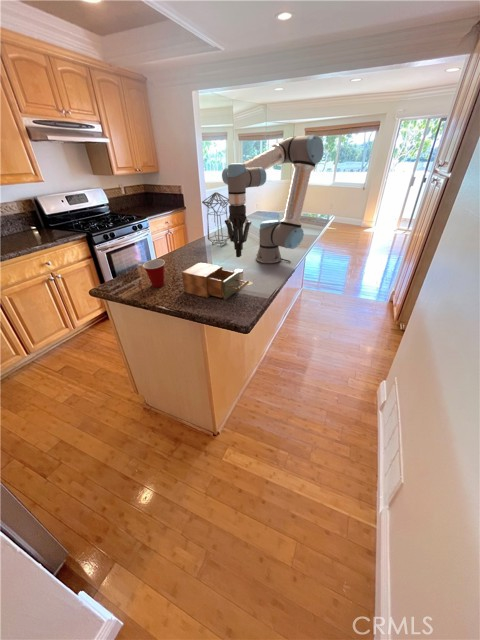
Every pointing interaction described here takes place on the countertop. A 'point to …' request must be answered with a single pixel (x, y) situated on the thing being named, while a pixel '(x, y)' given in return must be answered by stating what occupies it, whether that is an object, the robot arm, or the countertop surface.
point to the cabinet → (198, 278)
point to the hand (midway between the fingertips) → (238, 256)
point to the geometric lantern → (217, 214)
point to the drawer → (224, 283)
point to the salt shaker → (240, 274)
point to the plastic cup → (155, 271)
